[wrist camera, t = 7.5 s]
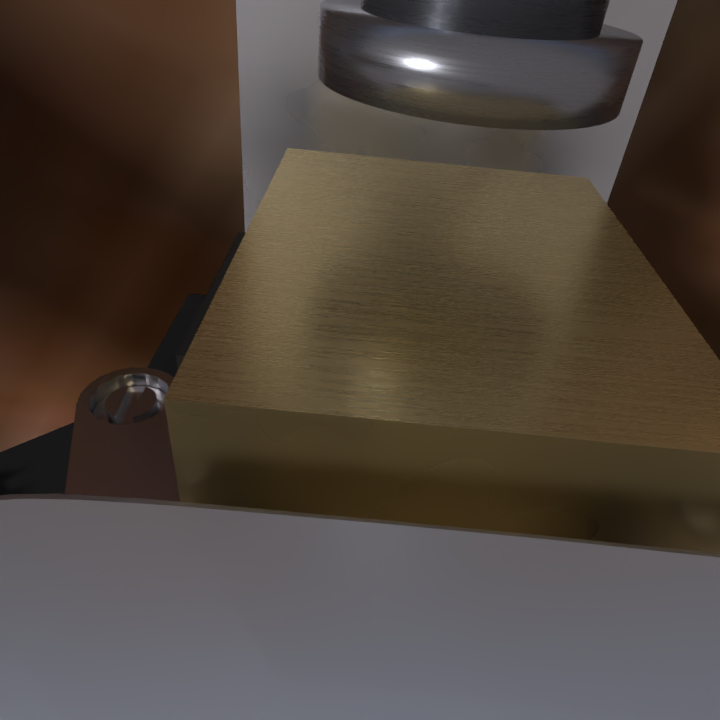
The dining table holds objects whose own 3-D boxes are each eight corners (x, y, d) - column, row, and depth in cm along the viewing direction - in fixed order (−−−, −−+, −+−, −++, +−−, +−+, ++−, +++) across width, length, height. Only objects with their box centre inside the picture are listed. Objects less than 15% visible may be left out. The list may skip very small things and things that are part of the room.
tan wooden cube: (588, 177, 11) (792, 459, 5) (515, 403, 14) (591, 724, 8) (287, 147, 11) (164, 399, 5) (286, 380, 14) (210, 687, 8)
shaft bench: (481, 530, 21) (511, 748, 16) (262, 509, 21) (212, 719, 16) (808, -462, 8) (1718, -1323, 3) (232, -523, 8) (-145, -1538, 2)
